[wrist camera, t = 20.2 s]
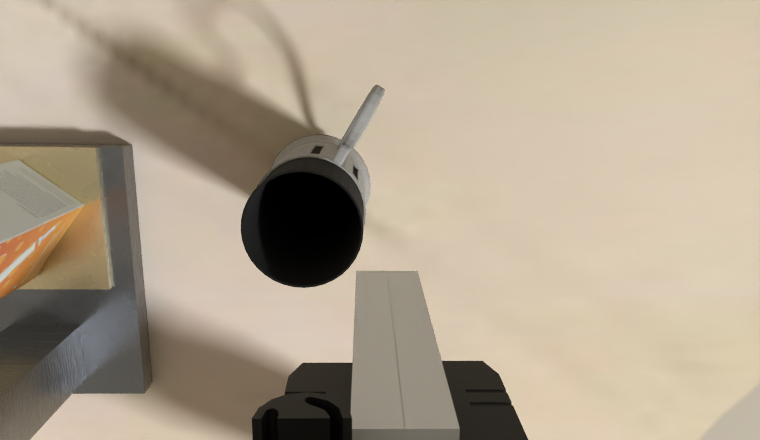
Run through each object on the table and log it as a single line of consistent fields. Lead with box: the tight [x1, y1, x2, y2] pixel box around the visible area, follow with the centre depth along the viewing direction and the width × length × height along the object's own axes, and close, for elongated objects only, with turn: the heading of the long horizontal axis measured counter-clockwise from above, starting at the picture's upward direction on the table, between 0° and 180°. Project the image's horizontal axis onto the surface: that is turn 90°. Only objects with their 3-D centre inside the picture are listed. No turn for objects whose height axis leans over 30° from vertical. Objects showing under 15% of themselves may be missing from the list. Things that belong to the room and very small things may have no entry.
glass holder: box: [241, 85, 385, 288], centre depth 43 cm, size 9×14×15 cm, turn 150°
